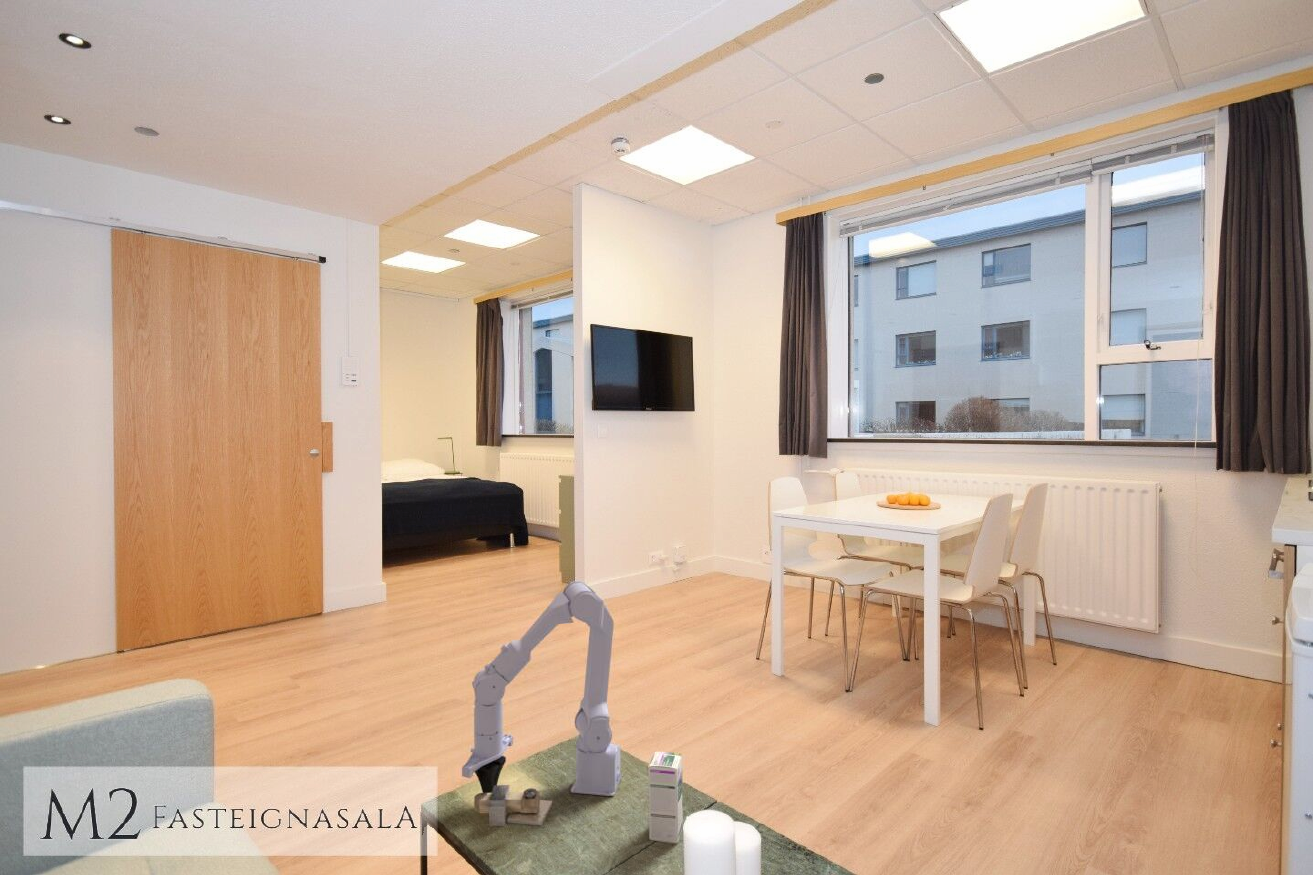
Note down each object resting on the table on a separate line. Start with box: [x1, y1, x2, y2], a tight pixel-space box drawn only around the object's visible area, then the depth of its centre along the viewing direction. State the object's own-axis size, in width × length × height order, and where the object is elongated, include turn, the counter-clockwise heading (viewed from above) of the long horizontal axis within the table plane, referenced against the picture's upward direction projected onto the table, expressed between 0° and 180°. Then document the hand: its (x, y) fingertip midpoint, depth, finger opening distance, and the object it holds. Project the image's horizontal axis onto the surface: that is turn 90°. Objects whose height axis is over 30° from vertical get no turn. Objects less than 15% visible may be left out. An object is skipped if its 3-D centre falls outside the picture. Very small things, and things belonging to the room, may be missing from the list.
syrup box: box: [647, 751, 684, 844], centre depth 125 cm, size 6×6×14 cm
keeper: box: [488, 784, 510, 827], centre depth 130 cm, size 3×5×5 cm, turn 3°
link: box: [473, 790, 541, 813], centre depth 131 cm, size 13×3×2 cm, turn 91°
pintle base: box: [506, 787, 553, 827], centre depth 131 cm, size 7×7×4 cm
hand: (489, 794), depth 134 cm, fingers closed
